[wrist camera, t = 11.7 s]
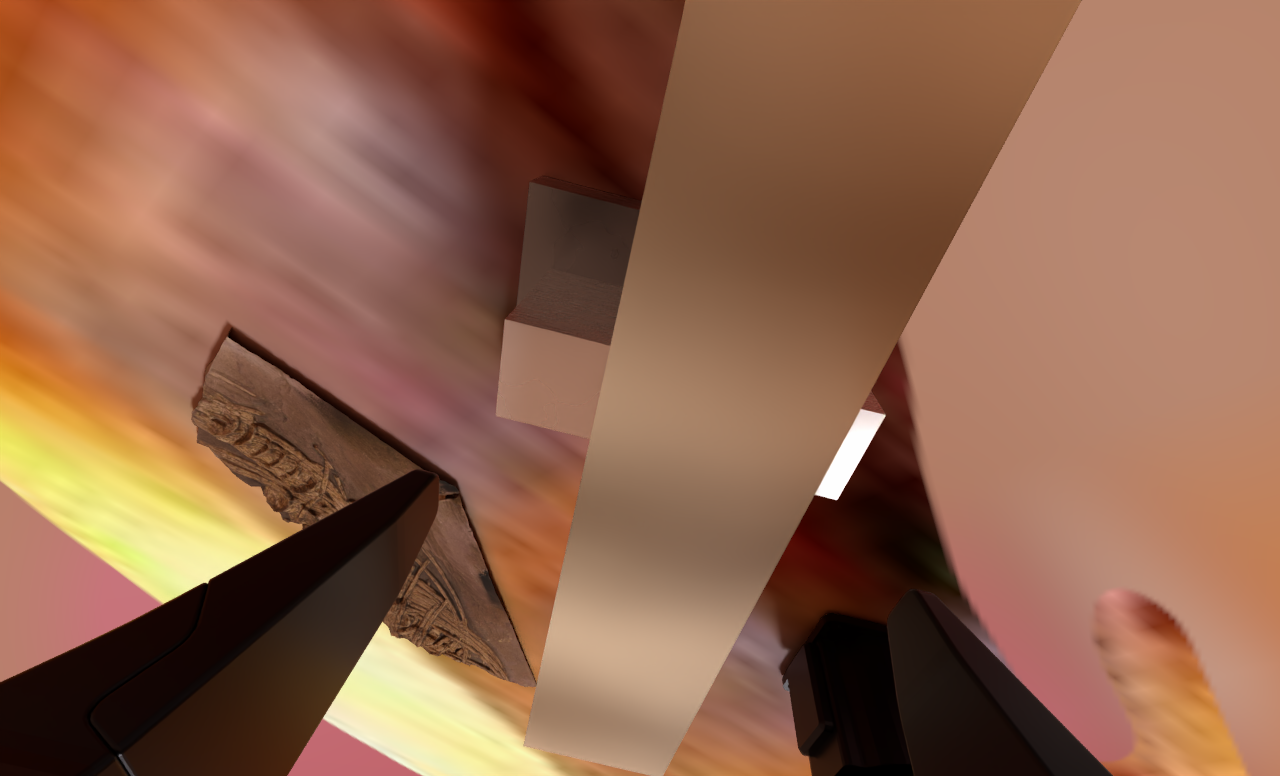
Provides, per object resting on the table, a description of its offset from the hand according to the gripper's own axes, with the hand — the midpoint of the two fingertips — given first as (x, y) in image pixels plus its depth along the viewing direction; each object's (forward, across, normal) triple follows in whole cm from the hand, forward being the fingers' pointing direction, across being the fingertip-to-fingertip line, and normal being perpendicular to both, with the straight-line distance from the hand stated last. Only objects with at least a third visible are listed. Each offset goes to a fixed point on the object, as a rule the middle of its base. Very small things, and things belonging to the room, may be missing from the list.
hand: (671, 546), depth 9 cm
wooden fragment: (+11, +11, +16) cm, 22 cm away
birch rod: (+5, 0, 0) cm, 5 cm away
